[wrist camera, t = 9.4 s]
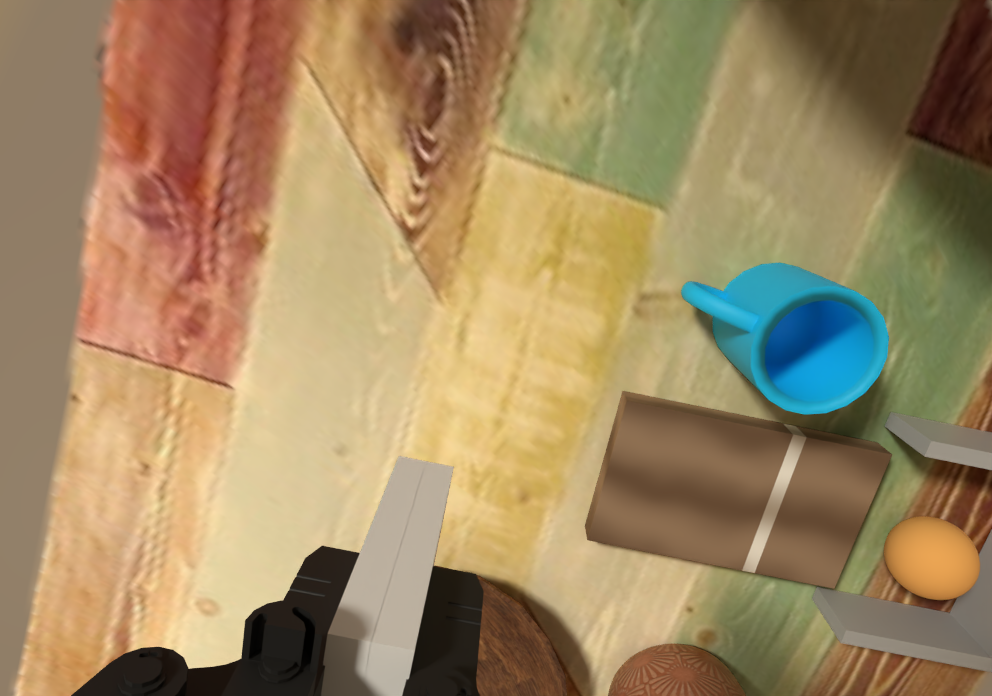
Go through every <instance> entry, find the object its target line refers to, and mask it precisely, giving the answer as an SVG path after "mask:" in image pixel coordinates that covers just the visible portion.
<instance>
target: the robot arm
mask: <svg viewBox="0 0 992 696" xmlns="http://www.w3.org/2000/svg"><path fill="white" fill-rule="evenodd" d="M453 468H454V467H452V466H447V465H442V464H437V463H432V462H427V461H422V460H417V459H412V458H407V457H402V456H399V457H398V459H397V462H396V464H395V467H394V469H393V471H392V474H391V476H390V479H389V481H388V484H387V486H386V489H385V491H384V494H383V496H382V499H381V501H380V504H379V506H378V509H377V511H376V514H375V516H374V519H373V521H372V524H371V526H370V529H369V531H368V534H367V536H366V539H365V541H364V544H363V546H362V549H361V551H360V553H357V552H351V551H346V550H341V549H336V548H331V547H326V546H321V547H320V548H318V549H317V550H316V551H314V552H313V553H312V554H310V555H309V556H308V557H306V558H305V560H304V562H303V564H302V566H301V568H300V570H299V572H298V573H297V577H295V579H294V581H293V583H292V585H291V587H290V590H289V591H288V592H287V594H286V596H285V598H284V600H283V601H278V602H273V603H268V604H266V605H264V606H262V607H260V608H258V609H256V610H254V611H253V612H252V614H251V615H250V616H249V617H248V618H247V619H246V620H245V629H244V639H243V649H242V658H241V659H240V660H238V661H235V662H232V663H229V664H226V665H221V666H215V667H205V668H192V669H188V666H187V664H186V662H185V660H184V657H182V656H181V655H179V654H178V653H177V652H175V651H174V650H171V649H166V648H162V647H149V648H140V649H137V650H134V651H131V652H128V653H125V654H123V655H122V656H120V657H119V658H117V659H115V660H114V661H112V662H111V663H109V664H108V665H107V666H106V667H105V668H103V669H102V670H101V671H100V672H99V673H97V674H96V675H95V676H94V677H93V678H92V679H90V680H89V681H88V682H87V683H86V684H84V685H83V686H82V687H81V688H80V689H78V690H77V691H76V692H75V693H74V694H73V695H71V696H480V694H479V692H478V689H477V680H476V676H477V665H478V653H479V641H480V629H481V618H482V606H483V594H484V591H483V588H482V586H481V584H480V582H479V580H478V577H477V575H476V574H472V573H467V572H462V571H457V570H452V569H447V568H442V567H437V566H434V562H435V557H436V552H437V547H438V542H439V537H440V532H441V527H442V522H443V518H444V513H445V508H446V503H447V498H448V493H449V488H450V483H451V478H452V473H453Z"/></svg>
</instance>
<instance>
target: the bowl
mask: <svg viewBox="0 0 992 696" xmlns="http://www.w3.org/2000/svg"><path fill="white" fill-rule="evenodd" d="M437 567H440V566H437ZM442 568H444V567H442ZM447 569H448V568H447ZM477 577H478V580H479V582H480V584H481V586H482V588H483V591H484V594H483V606H482V618H481V629H480V641H479V653H478V665H477V676H476V680H477V689H478V692H479V694H480V696H567V690H566V680H565V674H564V672H563V670H562V667H561V665H560V663H559V661H558V659H557V656H556V654H555V652H554V650H553V647H552V645H551V643H550V641H549V639H548V638H547V637H546V635H545V634H544V633H543V632H542V630H541V629H540V628H539V626H538V625H537V624H536V623H535V621H534V620H533V619H532V617H531V616H530V615H529V614H528V612H527V611H526V610H525V608H524V607H523V606H522V605H521V604H520V603H519V602H517V601H516V600H514V599H513V598H511V597H510V596H509V595H507V594H506V593H504V592H503V591H501V590H500V589H498V588H497V587H495V586H494V585H492V584H491V583H489V582H488V581H486V580H485V579H483V578H482V577H480V576H477Z"/></svg>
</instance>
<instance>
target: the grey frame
mask: <svg viewBox="0 0 992 696" xmlns="http://www.w3.org/2000/svg"><path fill="white" fill-rule="evenodd" d="M885 427H886V428H888V429H889V430H890V431H892V432H893V433H894V434H895V435H897V436H898V437H899V438H901V439H902V440H903V441H905V442H906V443H907V444H909V445H910V446H911V447H913V448H914V449H915V450H917V451H918V452H919V453H920V454H922V455H923V456H924V457H929V458H934V459H939V460H944V461H949V462H954V463H959V464H964V465H969V466H974V467H979V468H984V469H988V470H992V433H991V432H986V431H981V430H977V429H972V428H967V427H962V426H957V425H952V424H947V423H942V422H937V421H932V420H928V419H923V418H918V417H913V416H908V415H903V414H898V413H893V412H890V415H889V417H888V420H887V422H886V424H885ZM979 559H980V572H979V576H978V579H977V581H976V583H975V584H974V586H973V587H972V588H971V589H970V590H969V591H967V592H966V593H965V594H963V595H961V596H959V597H957V599H956V601H955V603H954V605H953V607H952V609H951V611H950V613H947V612H942V611H937V610H932V609H927V608H922V607H917V606H912V605H907V604H902V603H897V602H892V601H887V600H881V599H876V598H871V597H866V596H861V595H856V594H851V593H846V592H841V591H836V590H831V589H826V588H821V587H817V588H816V590H815V593H814V595H813V597H812V599H813V601H814V603H815V604H816V606H817V607H818V609H819V610H820V612H821V613H822V615H823V616H824V618H825V620H826V621H827V623H828V624H829V626H830V627H831V629H832V630H833V632H834V633H835V635H836V637H837V638H838V640H839V641H840V643H844V644H849V645H854V646H859V647H864V648H869V649H875V650H880V651H885V652H890V653H895V654H900V655H905V656H910V657H916V658H921V659H926V660H931V661H936V662H941V663H946V664H951V665H956V666H962V667H967V668H972V669H977V670H982V671H987V672H992V530H991V532H990V534H989V536H988V538H987V540H986V542H985V544H984V546H983V548H982V550H981V552H980V554H979Z"/></svg>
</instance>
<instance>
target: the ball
mask: <svg viewBox="0 0 992 696" xmlns="http://www.w3.org/2000/svg"><path fill="white" fill-rule="evenodd" d="M884 557H885V561H886V564H887V567H888V569H889V571H890V573H891V574H892V575H893V577H894V578H895V579H896V580H897V582H898V583H900V584H901V585H902V586H903V587H904V588H906V589H907V590H908V591H910V592H912V593H914V594H916V595H918V596H921V597H924V598H927V599H933V600H948V599H953V598H957V597H959V596H961V595H963V594H965V593H966V592H967V591H969V590H970V589H971V588H972V587H973V586H974V584H975V583H976V581H977V579H978V576H979V572H980V559H979V555H978V552H977V549H976V547H975V545H974V544H973V542H972V541H971V539H970V538H969V537H968V536H967V535H966V534H965V533H964V532H963V531H962V530H961V529H959V528H958V527H956V526H955V525H953V524H951V523H950V522H947V521H945V520H942V519H939V518H934V517H926V516H921V517H913V518H909V519H907V520H904V521H902V522H900V523H899V524H897V525H896V526H895V527H894V528H893V529H892V530H891V531H890V533H889V534H888V536H887V538H886V541H885V545H884Z"/></svg>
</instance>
